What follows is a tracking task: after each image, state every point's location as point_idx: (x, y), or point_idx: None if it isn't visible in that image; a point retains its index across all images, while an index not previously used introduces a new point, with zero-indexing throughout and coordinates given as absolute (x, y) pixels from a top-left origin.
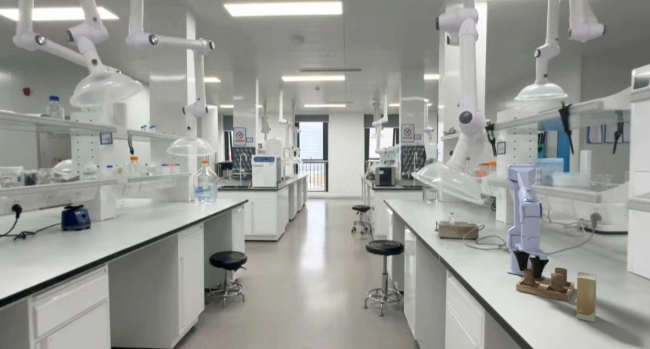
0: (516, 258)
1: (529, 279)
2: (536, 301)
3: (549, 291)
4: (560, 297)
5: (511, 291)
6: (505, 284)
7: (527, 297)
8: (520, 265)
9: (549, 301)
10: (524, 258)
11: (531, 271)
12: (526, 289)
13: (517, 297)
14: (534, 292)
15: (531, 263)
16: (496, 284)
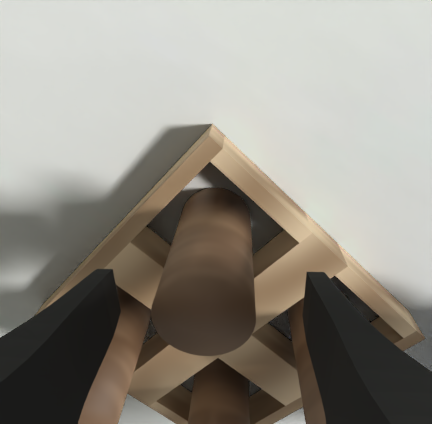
0: (403, 353)
1: (172, 247)
2: (5, 139)
3: (75, 276)
4: (55, 293)
5: (186, 68)
6: (345, 110)
7: (70, 122)
8: (320, 308)
9: (22, 216)
10: (337, 422)
11: (155, 308)
12: (163, 179)
13: (59, 42)
14: (134, 208)
15: (20, 361)
16: (363, 24)
